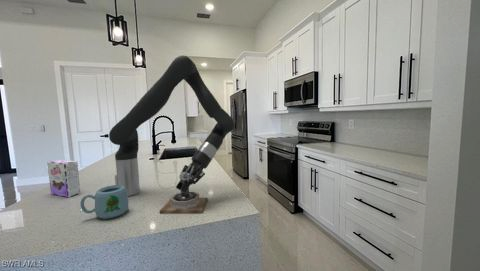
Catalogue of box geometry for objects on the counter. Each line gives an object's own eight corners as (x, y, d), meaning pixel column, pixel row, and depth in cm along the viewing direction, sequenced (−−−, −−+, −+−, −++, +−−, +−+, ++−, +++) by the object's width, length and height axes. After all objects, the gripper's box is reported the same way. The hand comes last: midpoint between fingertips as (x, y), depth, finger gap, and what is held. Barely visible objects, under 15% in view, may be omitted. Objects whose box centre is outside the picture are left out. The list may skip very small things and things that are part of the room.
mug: (80, 227, 71) (77, 199, 70) (83, 214, 80) (81, 189, 79) (130, 215, 78) (128, 189, 77) (128, 205, 88) (126, 181, 87)
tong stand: (159, 213, 79) (159, 202, 79) (171, 200, 91) (170, 191, 91) (201, 213, 79) (201, 202, 78) (207, 200, 90) (207, 190, 90)
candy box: (50, 194, 102) (46, 161, 101) (64, 190, 108) (60, 159, 106) (67, 198, 97) (63, 163, 96) (81, 193, 103) (77, 160, 101)
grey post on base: (175, 199, 85) (173, 173, 84) (188, 195, 89) (187, 170, 88) (182, 204, 80) (180, 176, 79) (195, 199, 84) (194, 172, 83)
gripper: (190, 148, 93) (165, 181, 86) (208, 151, 82) (181, 189, 76) (201, 157, 97) (178, 190, 90) (219, 162, 87) (195, 199, 80)
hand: (180, 189), depth 83 cm, fingers closed on grey post on base, 3 cm apart
